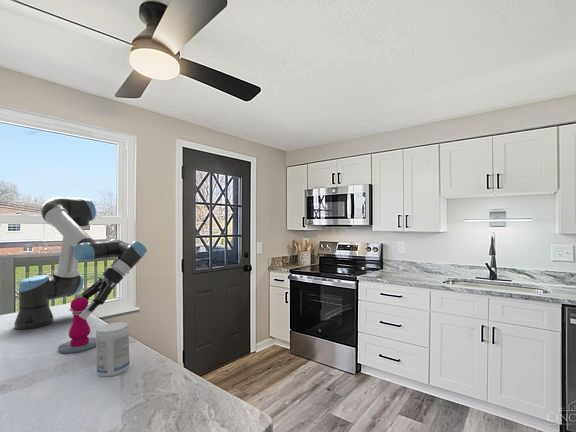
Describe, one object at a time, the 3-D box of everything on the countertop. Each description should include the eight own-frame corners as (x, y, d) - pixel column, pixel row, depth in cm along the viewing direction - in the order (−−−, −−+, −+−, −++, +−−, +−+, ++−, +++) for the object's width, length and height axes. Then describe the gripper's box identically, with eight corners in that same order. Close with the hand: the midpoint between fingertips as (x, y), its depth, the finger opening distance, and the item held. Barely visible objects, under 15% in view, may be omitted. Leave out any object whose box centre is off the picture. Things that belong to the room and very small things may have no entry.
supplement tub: (129, 362, 111) (129, 320, 112) (129, 373, 103) (128, 328, 103) (97, 368, 107) (97, 324, 108) (94, 380, 99) (94, 333, 99)
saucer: (49, 350, 123) (49, 348, 123) (84, 338, 136) (84, 335, 136) (74, 355, 118) (74, 352, 118) (107, 342, 131) (107, 339, 131)
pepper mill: (94, 340, 130) (94, 291, 131) (81, 347, 123) (81, 295, 124) (78, 340, 131) (77, 291, 132) (64, 347, 124) (63, 295, 124)
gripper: (135, 280, 132) (94, 326, 120) (112, 274, 148) (75, 314, 137) (121, 269, 128) (78, 315, 116) (99, 264, 144) (60, 304, 133)
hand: (76, 314), depth 126 cm, fingers open, 13 cm apart
